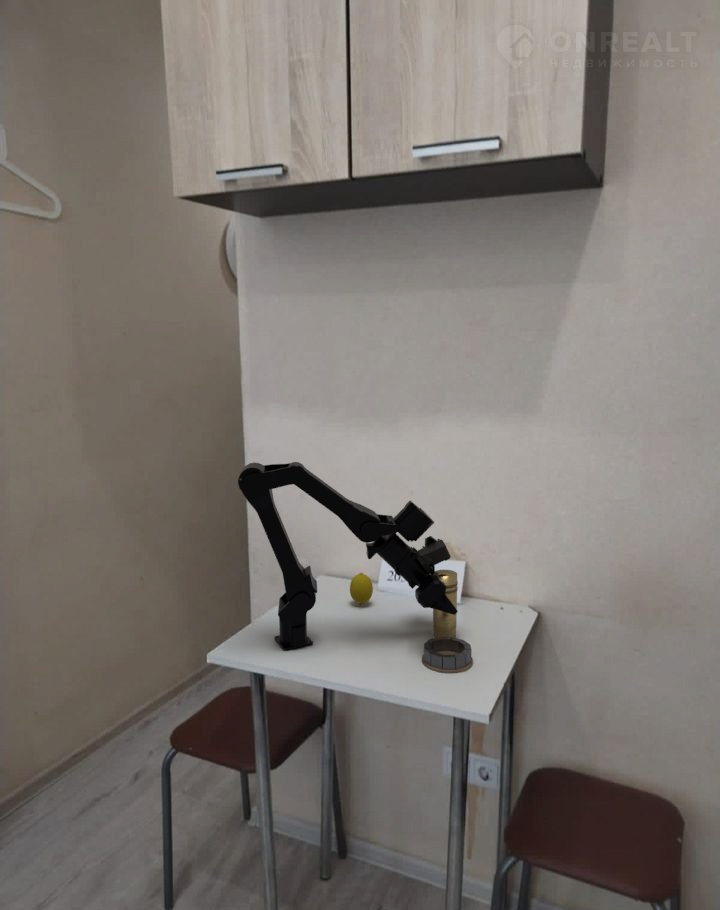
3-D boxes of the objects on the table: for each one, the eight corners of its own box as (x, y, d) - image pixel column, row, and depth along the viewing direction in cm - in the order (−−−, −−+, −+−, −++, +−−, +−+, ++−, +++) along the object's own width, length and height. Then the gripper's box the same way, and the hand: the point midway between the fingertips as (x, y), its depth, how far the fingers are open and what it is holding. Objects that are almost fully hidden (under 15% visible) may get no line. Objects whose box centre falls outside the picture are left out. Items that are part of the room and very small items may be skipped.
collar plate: (412, 656, 134) (412, 653, 134) (453, 645, 139) (453, 643, 139) (439, 677, 125) (439, 675, 125) (483, 666, 130) (483, 663, 130)
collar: (415, 654, 134) (415, 642, 134) (453, 644, 138) (453, 633, 138) (440, 673, 126) (440, 661, 125) (480, 663, 130) (480, 651, 129)
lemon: (359, 598, 165) (359, 567, 164) (377, 603, 162) (377, 572, 160) (345, 605, 161) (344, 573, 160) (363, 611, 157) (362, 578, 156)
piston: (427, 633, 145) (428, 571, 142) (447, 629, 147) (448, 568, 145) (440, 643, 140) (441, 579, 138) (461, 638, 142) (462, 575, 140)
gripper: (435, 542, 130) (489, 594, 133) (419, 518, 149) (467, 564, 151) (395, 582, 131) (450, 633, 133) (384, 553, 149) (433, 598, 152)
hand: (451, 604), depth 142 cm, fingers open, 9 cm apart
